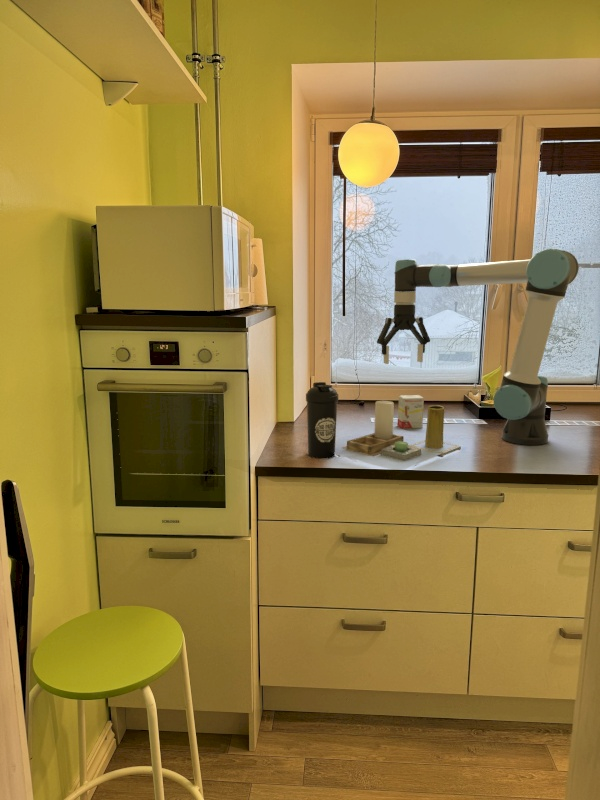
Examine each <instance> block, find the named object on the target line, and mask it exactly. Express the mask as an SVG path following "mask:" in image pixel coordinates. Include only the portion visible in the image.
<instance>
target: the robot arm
mask: <svg viewBox="0 0 600 800" xmlns="http://www.w3.org/2000/svg"><path fill="white" fill-rule="evenodd" d="M394 267H395V268H394V294H393V295H394V297H393V299H394V300H393V302H394V303H395V304H393V318H391V317H385V320H384V321H385V322H384V325H383V328H382V329H381V332H380V334H379V336H378V338H377V339H376V344H378V345H380V346H381V355H383V364H385V365H389V361H390V360H389V359H390V346H389V345H388V344H389V343H390V341H391V340H392V339H393V338H394V336H395V335H396V334H397V333H398V332H399V331H405V330H406V331H410V332H411V333H412V334H413V336H414V337H415V338H416V340H417V341H418V342H419V343H417V352H416V353H417V354H416V356H417V357H416V358H417V359H416V360H417V361H416V362H418V363H424V362H423V358H424V357H423V356H424V354H425V352H426V345H427V343H430V342H431V339H430V336H429V334H428V331H427V329H426V327H425V324H424V318H423V317H422V316H417V317H416V316H415V315H416V305H415V303H416V302H417V301H416V294H417V293H416V292H417V288H420V287H421V288H424V287H425V288H442V287H444V288H452V287H464V286H485V285H486V286H487V285H488V286H490V285H510V284H512V285H513V284H514V285H515V284H526V286H525V289H524V291H525V293H526V294H527V297H528V298H527V303H526V307H525V310H524V311H525V312H524V314H523V318H522V322H521V324H520V325H521V326H520V330H519V335H518V337H517V341H516V346H515V349H514V353H513V355H512V361H511V365H510V368H509V370H508V371H506V372H504V373H503V376H502V380H501V384H500V387H499V388H497V391H495V393H494V395H493V406H494V408H495V410H496V412H497V413H498V415H500V416H501V417H502V418H504V419H507V420H506V422H505V425H504V426H503V429H502V432H501V438H502V439H503V440H504V441H506V442H507V443H508V442H509V443H511V444H517V445H521V446H522V445H525V446H542V445H545V444H547V443H549V432H548V429H547V425H546V424H547V423H546V421H545V416H546V407H547V406H546V405H547V396H548V395H547V394H548V387H549V383H548V378H547V377H546V376H544V375H543V376H542V375H539V371H540V368H541V365H542V361H543V357H544V353H545V350H546V346H547V342H548V339H549V336H550V331H551V327H552V324H553V321H554V317H555V313H556V309H557V306H558V303H559V302H560V301H561V300H563V299H564V298H565V297H566V293H567V291H568V286H569V285H571V283H572V282H574V281H575V279H576V278H577V276H578V274H579V262H578V259H577V257H575V255H573V253H572V252H569V251H567V250H562V249H558V248H546V249H543V250H541V251H538V252H537V253H535V254H534V255H533V256H532V257H531V258H530V259H522V260H520V259H519V260H509V261H508V260H504V261H495V262H494V261H493V262H480V263H479V262H478V263H463V264H449V265H447V264H440V263H437V264H418V262H417V259H398V260H396V261H395V266H394ZM415 323H416V325H417V326H418V329H419V330H418V329H417V327H416V326H415V325H414V324H415ZM392 324H394V325H393V326H392ZM391 326H392V328H391ZM390 328H391V330H390ZM389 330H390V331H389Z"/></svg>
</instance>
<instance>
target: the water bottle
mask: <svg viewBox="0 0 600 800" xmlns="http://www.w3.org/2000/svg"><path fill="white" fill-rule="evenodd" d="M305 401H306V414H307V421H306V422H307V455H308V457H310V458H313V459H318V460H319V459H321V460H323V459H324V460H325V459H331V458H334V457H335V456H336V454H335V452H336V438H337V437H336V436H337V434H336V433H337V414H338V413H337V412H338V403H339V393H338V391H336V389H334V388H333V385H332V384H327V383H326V381H325V382H321V381H319V382H318V381H317V382H313V383H312V387H311V388H310V389H308V391H307V392H306V394H305Z"/></svg>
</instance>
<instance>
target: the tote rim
mask: <svg viewBox="0 0 600 800" xmlns="http://www.w3.org/2000/svg"><path fill="white" fill-rule="evenodd" d="M422 443H425V439H424V440H421V441H419V442H415V443H413V444H408V446H411V447H415V448H419V449H421V450H424V451H428V452H433V453H437V454H438V455H436V457H439V458H444V456H445V455H449V454H451V453H454V452H456V451H461V450H462V446H461V445H457V444H453V443H448V442H444V441H443V445H449V446H452V447H448V448H445V449H444V450H441V451H437V450H432V449H428V448H424V447H419V446H416V445H419V444H422Z"/></svg>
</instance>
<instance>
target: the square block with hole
mask: <svg viewBox="0 0 600 800" xmlns="http://www.w3.org/2000/svg"><path fill="white" fill-rule="evenodd" d="M380 455H381V456H384V457H388V458H392V459H395V460H396V459H397V460H400V461H404V462H405V461H409V460H410V459H413V458H415V457H419V456H422V449H419V448H415V447H411V446H408V450H407V451H397V450H395V444H394V445H391V446H388V447H385V448H382V449H381V454H380Z"/></svg>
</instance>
